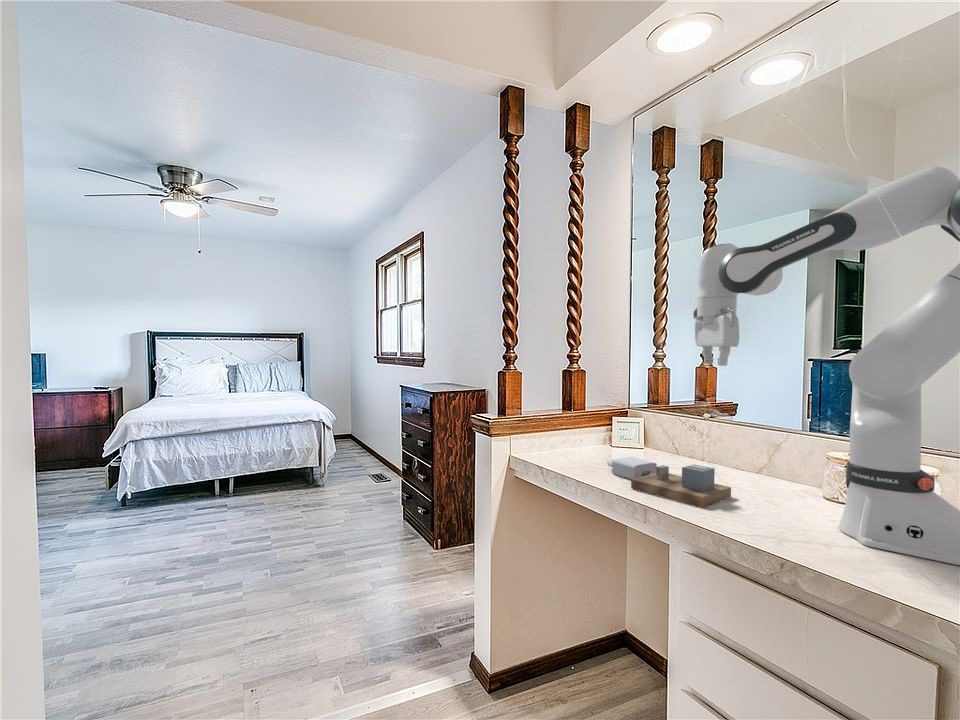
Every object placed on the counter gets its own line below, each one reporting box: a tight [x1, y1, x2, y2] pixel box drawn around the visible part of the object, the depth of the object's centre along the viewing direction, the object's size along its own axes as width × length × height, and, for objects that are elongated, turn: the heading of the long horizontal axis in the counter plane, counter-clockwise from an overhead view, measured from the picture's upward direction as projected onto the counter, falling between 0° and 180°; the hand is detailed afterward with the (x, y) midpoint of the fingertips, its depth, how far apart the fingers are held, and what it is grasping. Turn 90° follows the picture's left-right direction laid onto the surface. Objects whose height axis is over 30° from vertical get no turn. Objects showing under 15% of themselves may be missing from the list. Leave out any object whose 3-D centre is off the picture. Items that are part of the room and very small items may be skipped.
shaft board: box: [630, 465, 732, 508], centre depth 127 cm, size 20×14×6 cm
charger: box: [606, 456, 658, 480], centre depth 147 cm, size 5×9×15 cm
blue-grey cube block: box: [681, 463, 716, 492], centre depth 123 cm, size 6×6×5 cm
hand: (715, 364), depth 123 cm, fingers open, 8 cm apart
